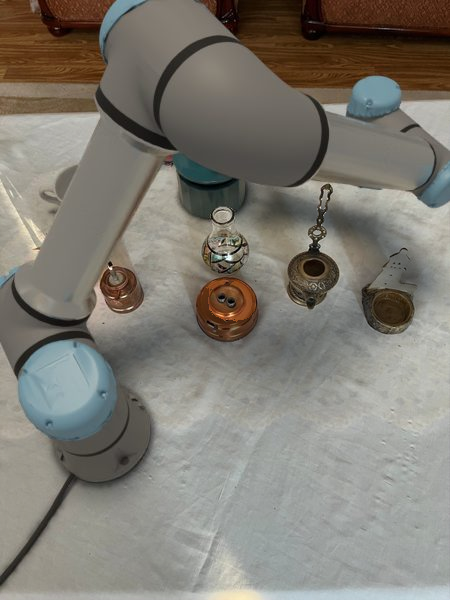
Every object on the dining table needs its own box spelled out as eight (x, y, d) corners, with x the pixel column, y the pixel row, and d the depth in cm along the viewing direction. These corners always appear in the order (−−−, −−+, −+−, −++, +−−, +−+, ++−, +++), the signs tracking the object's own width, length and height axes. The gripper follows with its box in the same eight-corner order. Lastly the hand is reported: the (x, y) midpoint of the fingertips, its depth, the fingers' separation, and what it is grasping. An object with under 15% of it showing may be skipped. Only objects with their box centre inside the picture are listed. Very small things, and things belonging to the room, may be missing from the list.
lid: (257, 140, 104) (258, 106, 97) (234, 193, 97) (233, 161, 90) (188, 125, 107) (184, 91, 100) (161, 177, 100) (155, 144, 93)
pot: (243, 220, 107) (243, 191, 100) (177, 218, 108) (172, 189, 100) (246, 170, 114) (246, 140, 106) (183, 169, 115) (179, 139, 107)
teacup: (120, 190, 112) (112, 163, 105) (109, 231, 107) (100, 205, 100) (57, 187, 113) (45, 160, 106) (43, 227, 108) (29, 201, 101)
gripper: (316, 106, 93) (193, 82, 98) (294, 168, 86) (161, 139, 91) (311, 138, 100) (196, 114, 104) (290, 198, 93) (167, 170, 97)
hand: (180, 126), depth 97 cm, fingers closed on lid, 3 cm apart
